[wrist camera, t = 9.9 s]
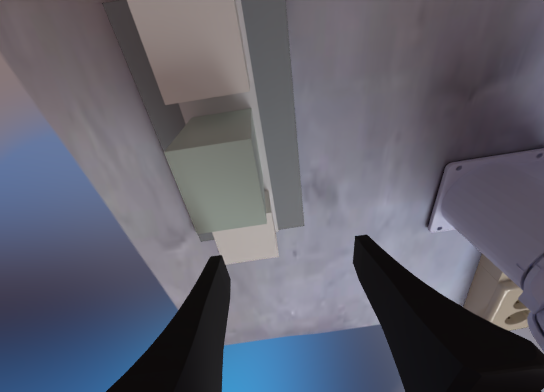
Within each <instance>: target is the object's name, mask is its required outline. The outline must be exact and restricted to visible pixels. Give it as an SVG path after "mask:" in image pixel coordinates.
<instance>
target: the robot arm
mask: <svg viewBox="0 0 544 392" xmlns="http://www.w3.org/2000/svg"><path fill="white" fill-rule="evenodd" d="M458 166H459V167H458ZM457 167H458V168H457ZM456 168H457V169H456ZM454 229H456V230H457V231H458V232H459V233H460V234H461V235H463V236H464V237H465V238H466V239H467V240H468V241H469V242H470V243H471V244H472V245H473V246H475V247H476V248H477V249H478V250H479V251H480V252H481V253H482V254H483V255H484V256H485V257H487V258H488V259H489V260H490V261H491V262H492V263H493V264H494V265H495V266H496V267H498V268H499V269H500V270H501V271H502V272H503V273H504V274H505V275H506V276H507V277H508V278H510V279H511V280H512V281H513V282H514V283H515V284H516V285H517V286H518V287H519V288H521V289H522V290H523V293H522V294H521V295H520V296H519V297H518V300H519V301H520V302H522V303H523V304H524V305H525V306H526V307H527V308H528V309H529V310H530V311H531V312H530V313H529V315H528V317H527V322H528V326H529V329H530V331H531V333H532V335H533V337H534V338H535V339H536V341H537V343H538V344H539V346H540V347H541V348H542V350H543V351H544V148H541V149H535V150H528V151H522V152H515V153H509V154H503V155H496V156H490V157H483V158H477V159H471V160H464V161H458V162H452V163H449V164H448V165H447V166H446V167H445V170H444V174H443V177H442V181H441V184H440V188H439V191H438V195H437V198H436V201H435V205H434V208H433V212H432V215H431V219H430V222H429V226H428V230H429V231H430V232H431V233H434V232H441V231H447V230H454ZM353 264H354V267H355V270H356V273H357V276H358V278H359V281H360V283H361V285H362V287H363V289H364V291H365V293H366V295H367V297H368V299H369V302H370V304H371V306H372V308H373V310H374V312H375V314H376V316H377V318H378V320H379V322H380V324H381V326H382V329H383V331H384V334H385V336H386V339H387V342H388V344H389V347H390V349H391V352H392V355H393V358H394V360H395V363H396V366H397V368H398V372H399V374H400V377H401V380H402V383H403V386H404V389H405V392H541V390H542V389H543V388H544V354H543V353H542V352H541V351H540V350H539V349H538V348H537V347H536V346H535V345H534V344H533V343H532V342H531V341H529V340H527V339H525V338H523V337H521V336H519V335H516V334H514V333H512V332H510V331H508V330H506V329H504V328H501V327H499V326H497V325H495V324H493V323H491V322H489V321H487V320H486V319H484V318H482V317H480V316H478V315H476V314H474V313H472V312H471V311H469V310H467V309H465V308H464V307H462V306H460V305H458V304H457V303H455V302H453V301H452V300H450V299H448V298H447V297H445V296H443V295H442V294H440V293H439V292H437V291H436V290H434V289H433V288H431V287H430V286H428V285H427V284H425V283H424V282H423V281H421V280H420V279H418V278H417V277H416V276H414V275H413V274H412V273H410V272H409V271H408V270H407V269H405V268H404V267H403V266H402V265H400V264H399V263H398V262H397V261H396V260H395V259H393V258H392V257H391V256H390V255H389V254H388V253H386V252H385V251H384V250H383V249H382V248H381V247H380V246H379V245H378V244H376V243H375V242H374V241H373V240H372V239H371V238H370V237H369V236H368V235H361V236H355V244H354V256H353ZM229 303H230V277H229V274H228V271H227V268H226V265H225V262H224V260H223V257H222V255H219V256H212V257H210V258H209V260H208V262H207V264H206V266H205V268H204V270H203V271H202V273H201V275H200V277H199V279H198V280H197V282H196V284H195V285H194V287H193V289H192V290H191V292H190V294H189V295H188V297H187V298H186V300H185V301H184V303H183V304H182V306H181V307H180V309H179V310H178V312H177V313H176V315H175V316H174V317H173V319H172V320H171V321H170V323H169V324H168V325H167V327H166V328H165V329H164V331H163V332H162V333H161V334H160V335H159V337H158V338H157V339H156V340H155V341H154V343H153V344H152V345H151V346H150V347H149V348H148V350H147V351H146V352H145V353H144V354H143V355H142V356H141V357H140V358H139V359H138V360H137V361H136V362H135V364H134V365H133V366H132V367H131V368H130V369H129V370H128V371H127V372H126V373H125V374H124V375H123V376H122V377H121V378H120V379H119V380H118V381H117V382H116V383H114V385H112V386H111V387H110V388H109V389H108V390H107V391H106V392H222V367H223V366H222V365H223V349H224V339H225V332H226V325H227V318H228V311H229Z"/></svg>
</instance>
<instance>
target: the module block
mask: <svg viewBox="0 0 544 392" xmlns="http://www.w3.org/2000/svg"><path fill="white" fill-rule="evenodd" d="M164 154H165V156H166V159H167V161H168V164H169V166H170V169H171V171H172V174H173V176H174V179H175V181H176V183H177V186H178V188H179V191H180V193H181V196H182V198H183V201H184V203H185V206H186V208H187V210H188V213H189V215H190V218H191V220H192V223H193V225H194V228H195V230H196V233H197V234H202V233H209V232H215V231H222V230H229V229H236V228H242V227H249V226H256V225H262V224H267V218H266V206H265V194H264V182H263V172H262V167H261V161H260V155H259V149H258V144H257V138H256V132H255V126H254V121H253V115H252V109H251V108H249V109H243V110H236V111H230V112H224V113H217V114H211V115H204V116H198V117H192V118H191V119H190V120H189V122H188V123H187V124H186V125H185V127H184V128H183V129H182V130H181V131H180V133H179V134H178V135H177V136H176V138H175V139H174V140H173V141H172V143H171V144H170V145H169V146H168V148H167V149H166V150H165V151H164Z"/></svg>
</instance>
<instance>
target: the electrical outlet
mask: <svg viewBox="0 0 544 392" xmlns="http://www.w3.org/2000/svg"><path fill="white" fill-rule="evenodd" d="M522 293H523V290H522V289H521V288H519V287H518V286H517V285H516V284H515V283H514V282H513V281H512V280H511V279H510V278H508V277H507V276H506V275H505V274H504V273H503V272H502V271H501V270H500V269H499V268H498V267H496V266H495V265H494V264H493V263H492V262H491V261H490V260H489V259H488V258H487V257H485V256H484V255H483V254H482V255H481V258H480V261H479V264H478V267H477V270H476V272H475V275H474V278H473V281H472V284H471V287H470V290H469V293H468V295H467V298H466V301H465V304H464V308H465V309H467V310H469V311H471V312H472V313H474V314H476V315H478V316H480V317H482V318H484V319H486V320H487V321H489V322H491V323H493V324H495V325H497V326H499V327H501V328H504V329H506V330H508V331H511V330H516V329H521V328H527V327H529V326H528V322H527V317H528V315H529V313H530V312H531V311H530V310H529V309H528V308H527V307H526V306H525V305H524V304H523V303H522V302H520V301H519V300H518V297H519V296H520V295H521V294H522Z"/></svg>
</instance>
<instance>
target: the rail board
mask: <svg viewBox="0 0 544 392" xmlns="http://www.w3.org/2000/svg"><path fill="white" fill-rule="evenodd" d="M102 4H103V6H104V9H105V11H106V13H107V16H108V18H109V21H110V23H111V26H112V28H113V30H114V33H115V35H116V38H117V40H118V43H119V45H120V47H121V50H122V52H123V55H124V57H125V59H126V62H127V64H128V67H129V69H130V72H131V74H132V76H133V79H134V81H135V84H136V86H137V88H138V91H139V93H140V96H141V98H142V101H143V103H144V105H145V108H146V110H147V113H148V115H149V117H150V120H151V122H152V125H153V127H154V130H155V132H156V134H157V137H158V139H159V142H160V144H161V146H162V149H163V151H165V150H166V149H167V148H168V146H169V145H170V144H171V143H172V141H173V140H174V139H175V138H176V136H177V135H178V134H179V133H180V131H181V130H182V129H183V128H184V127H185V125H186V124H187V123H188V122H189V120H190V119H191V118H192V117H198V116H204V115H211V114H217V113H224V112H230V111H236V110H243V109H249V108H251V109H252V115H253V121H254V126H255V132H256V138H257V144H258V149H259V155H260V161H261V167H262V172H263V182H264V194H265V206H266V218H267V224H262V225H256V226H249V227H242V228H236V229H229V230H222V231H215V232H209V233H202V234H198V236H199V238H200V241H201V242H202V241H209V240H215V242H216V245H217V247H218V250H219V253H220V255H222V257H223V260H224V262H225V265H227V264H234V263H240V262H247V261H254V260H260V259H267V258H273V257H279V253H278V245H277V238H276V232H278V230H281V229H287V228H294V227H300V226H304V216H303V204H302V192H301V180H300V168H299V156H298V144H297V132H296V120H295V108H294V96H293V84H292V72H291V60H290V48H289V36H288V24H287V12H286V0H118V1H112V2H106V3H102Z"/></svg>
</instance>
